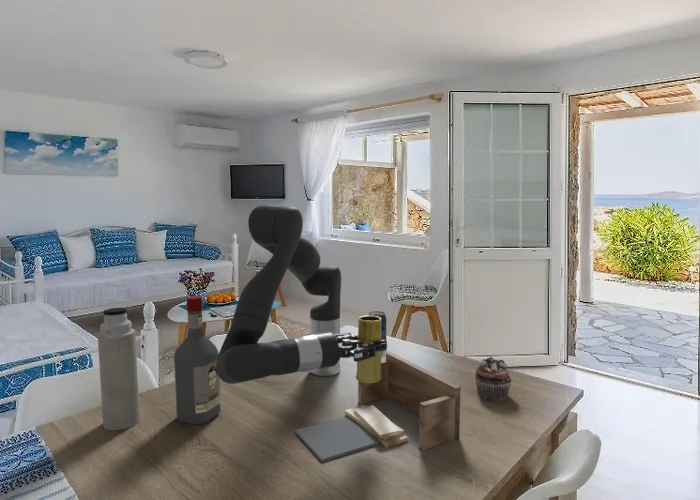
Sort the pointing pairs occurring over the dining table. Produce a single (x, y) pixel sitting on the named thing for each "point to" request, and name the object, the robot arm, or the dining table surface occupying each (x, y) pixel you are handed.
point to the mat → (336, 438)
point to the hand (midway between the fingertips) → (378, 341)
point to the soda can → (383, 322)
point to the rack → (409, 404)
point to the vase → (372, 366)
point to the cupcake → (493, 380)
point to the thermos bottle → (118, 371)
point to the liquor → (196, 371)
